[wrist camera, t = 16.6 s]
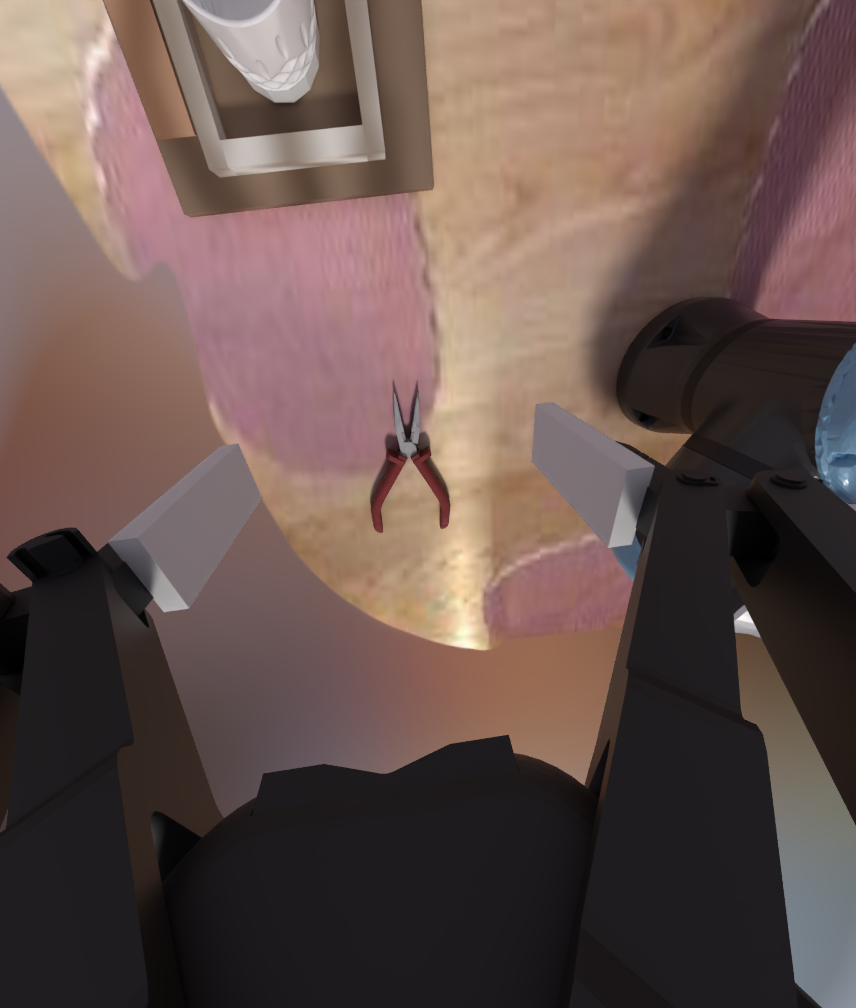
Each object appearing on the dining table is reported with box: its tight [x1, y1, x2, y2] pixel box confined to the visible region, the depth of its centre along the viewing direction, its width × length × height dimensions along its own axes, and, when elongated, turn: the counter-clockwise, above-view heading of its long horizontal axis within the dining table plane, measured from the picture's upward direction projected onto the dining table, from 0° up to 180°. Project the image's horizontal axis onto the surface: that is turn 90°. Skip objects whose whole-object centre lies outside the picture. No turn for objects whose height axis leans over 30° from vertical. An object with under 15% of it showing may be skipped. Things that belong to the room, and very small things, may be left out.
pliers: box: [371, 391, 450, 533], centre depth 44 cm, size 12×20×3 cm, turn 0°
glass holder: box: [103, 0, 434, 217], centre depth 24 cm, size 22×18×3 cm
